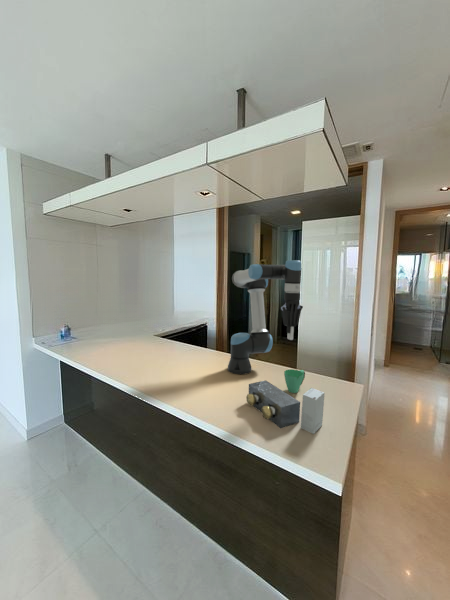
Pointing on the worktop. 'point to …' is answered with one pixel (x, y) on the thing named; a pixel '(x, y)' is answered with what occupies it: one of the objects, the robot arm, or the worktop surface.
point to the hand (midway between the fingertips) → (290, 339)
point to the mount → (276, 403)
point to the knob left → (252, 399)
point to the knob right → (268, 411)
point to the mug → (294, 379)
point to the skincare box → (312, 410)
